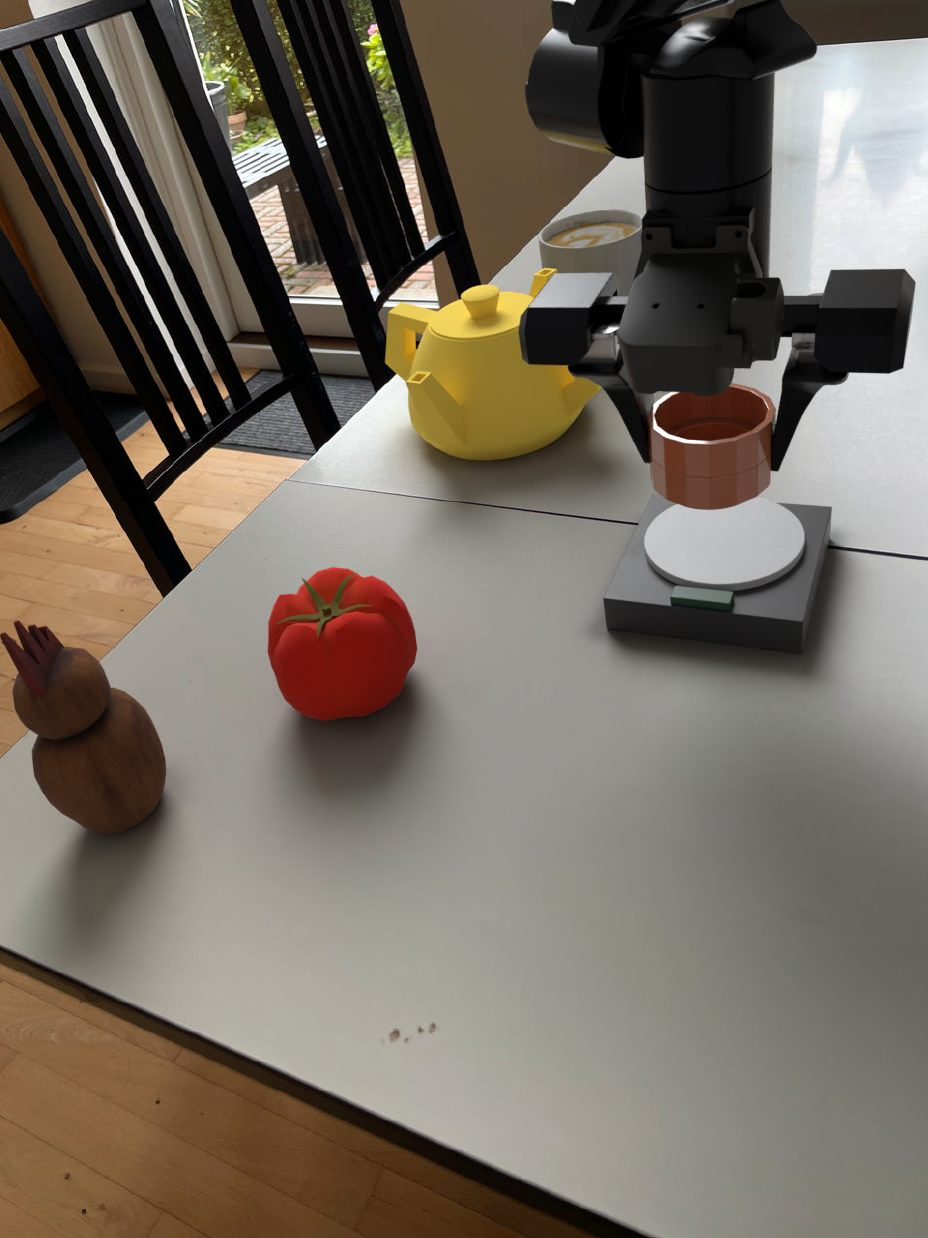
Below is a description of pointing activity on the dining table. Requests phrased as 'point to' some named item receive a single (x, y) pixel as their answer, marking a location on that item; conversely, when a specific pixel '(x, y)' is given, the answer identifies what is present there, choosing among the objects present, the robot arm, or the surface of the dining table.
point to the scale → (722, 573)
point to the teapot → (481, 376)
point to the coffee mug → (594, 244)
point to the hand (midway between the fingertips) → (710, 463)
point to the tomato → (341, 645)
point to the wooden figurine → (85, 734)
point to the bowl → (711, 447)
